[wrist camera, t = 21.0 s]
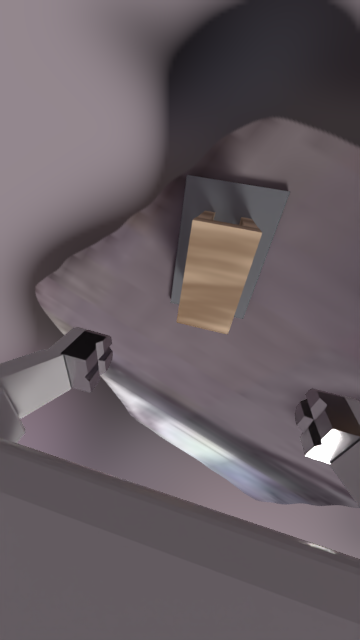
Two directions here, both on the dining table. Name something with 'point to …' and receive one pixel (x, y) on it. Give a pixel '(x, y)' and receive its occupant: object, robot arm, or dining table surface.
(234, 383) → the dining table surface
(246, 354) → the dining table surface
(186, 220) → the mat
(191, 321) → the stool
